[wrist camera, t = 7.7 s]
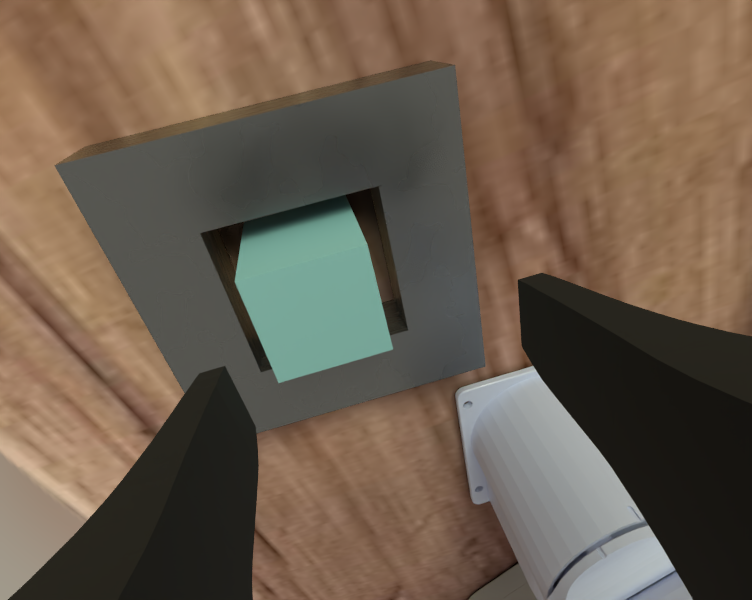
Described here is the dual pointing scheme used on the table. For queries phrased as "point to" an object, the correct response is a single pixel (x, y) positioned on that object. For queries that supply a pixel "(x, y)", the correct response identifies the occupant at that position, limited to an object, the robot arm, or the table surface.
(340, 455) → the table surface
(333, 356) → the teal block
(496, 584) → the handheld gaming device
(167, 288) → the grey square-hole plate
